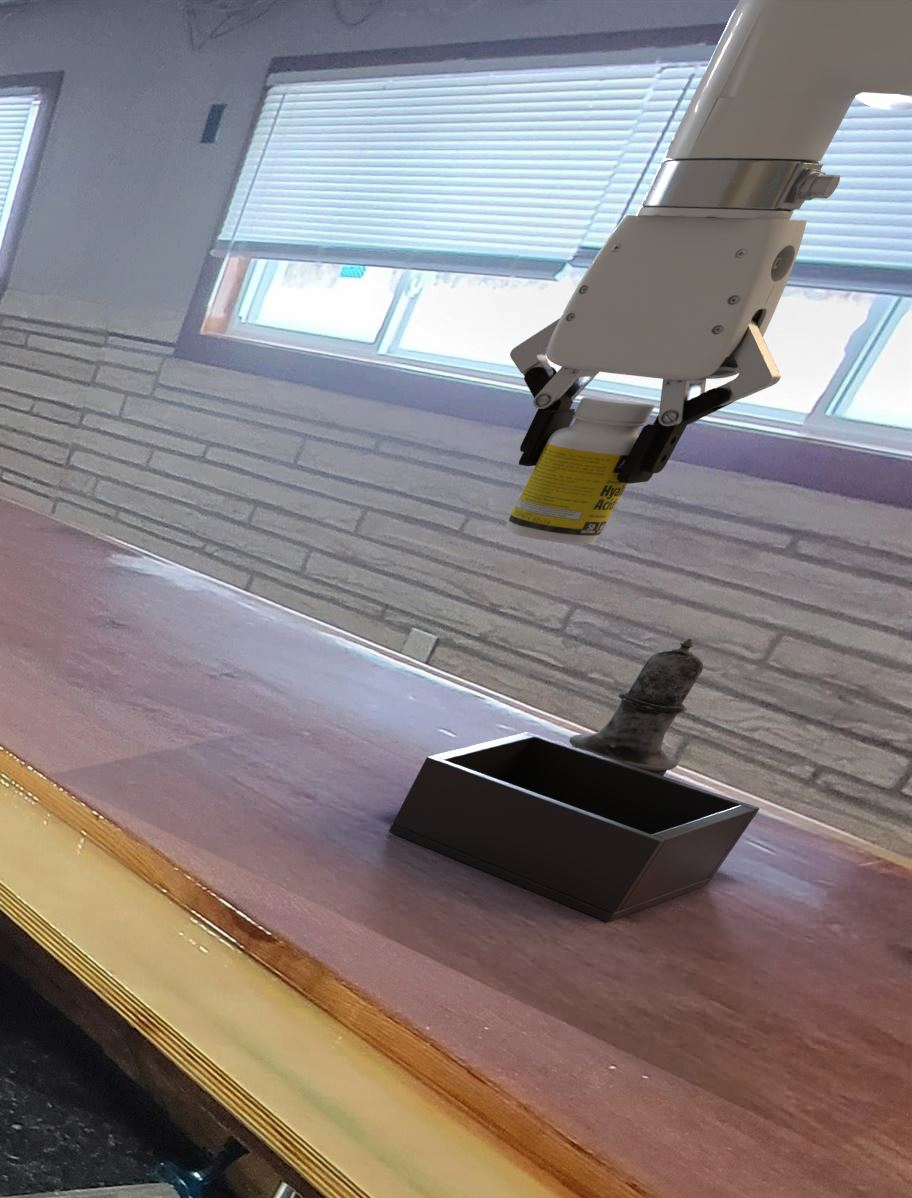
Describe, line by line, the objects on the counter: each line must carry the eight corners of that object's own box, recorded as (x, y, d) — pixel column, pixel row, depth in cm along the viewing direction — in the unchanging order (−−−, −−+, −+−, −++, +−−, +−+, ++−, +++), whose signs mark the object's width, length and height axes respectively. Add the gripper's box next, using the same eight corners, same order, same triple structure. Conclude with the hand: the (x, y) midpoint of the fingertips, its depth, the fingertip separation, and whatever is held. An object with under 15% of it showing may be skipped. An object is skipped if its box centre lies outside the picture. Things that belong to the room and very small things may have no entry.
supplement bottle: (587, 549, 89) (660, 408, 84) (495, 533, 92) (560, 397, 87) (603, 539, 92) (674, 402, 87) (513, 524, 95) (577, 392, 90)
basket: (488, 803, 87) (528, 731, 85) (707, 885, 78) (760, 807, 75) (387, 831, 83) (426, 756, 80) (607, 922, 73) (660, 841, 70)
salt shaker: (607, 780, 92) (699, 628, 86) (671, 816, 87) (774, 656, 81) (525, 774, 92) (611, 622, 86) (584, 809, 87) (680, 650, 81)
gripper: (929, 198, 75) (757, 495, 84) (598, 192, 89) (480, 449, 98) (874, 195, 73) (702, 502, 81) (541, 189, 86) (425, 453, 95)
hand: (582, 470), depth 90 cm, fingers closed on supplement bottle, 5 cm apart
